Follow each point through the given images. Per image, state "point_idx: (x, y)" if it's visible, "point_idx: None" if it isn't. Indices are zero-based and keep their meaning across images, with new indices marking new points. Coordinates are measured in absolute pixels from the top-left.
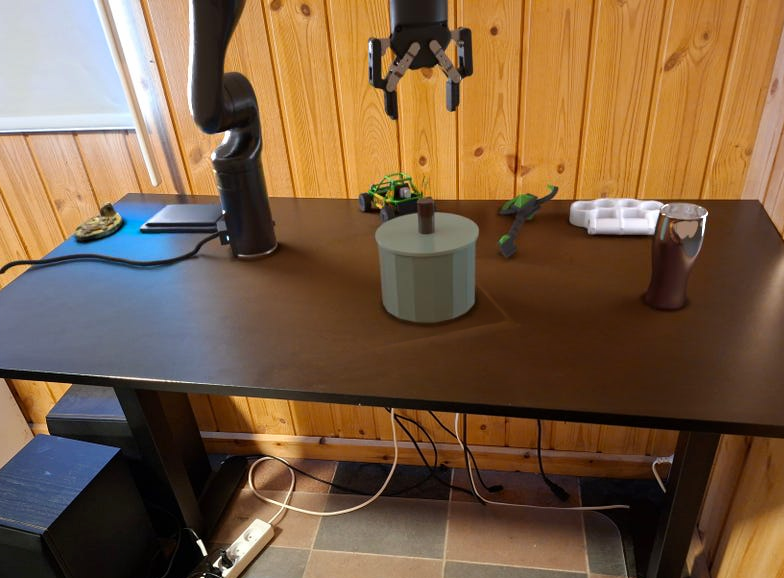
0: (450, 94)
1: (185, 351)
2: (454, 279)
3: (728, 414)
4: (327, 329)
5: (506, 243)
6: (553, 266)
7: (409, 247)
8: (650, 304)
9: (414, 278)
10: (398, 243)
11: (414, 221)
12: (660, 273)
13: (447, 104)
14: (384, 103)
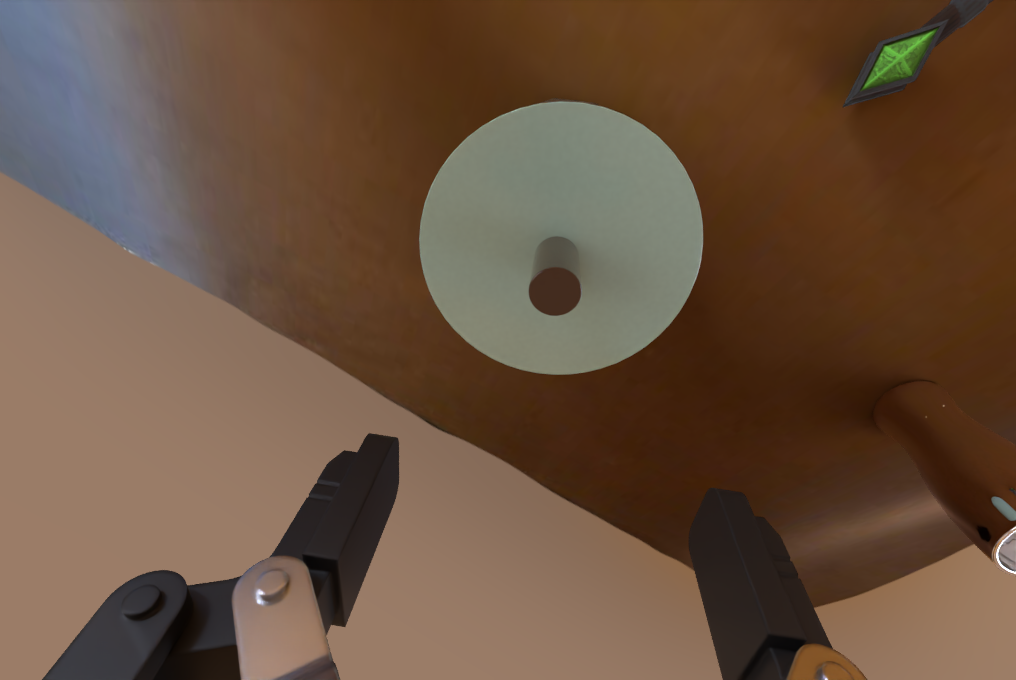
0: (715, 614)
1: (86, 146)
2: None
3: None
4: (344, 204)
5: (876, 91)
6: (897, 197)
7: (477, 319)
8: (874, 407)
9: None
10: (462, 286)
11: (560, 172)
12: (912, 454)
13: (714, 518)
14: (308, 500)
